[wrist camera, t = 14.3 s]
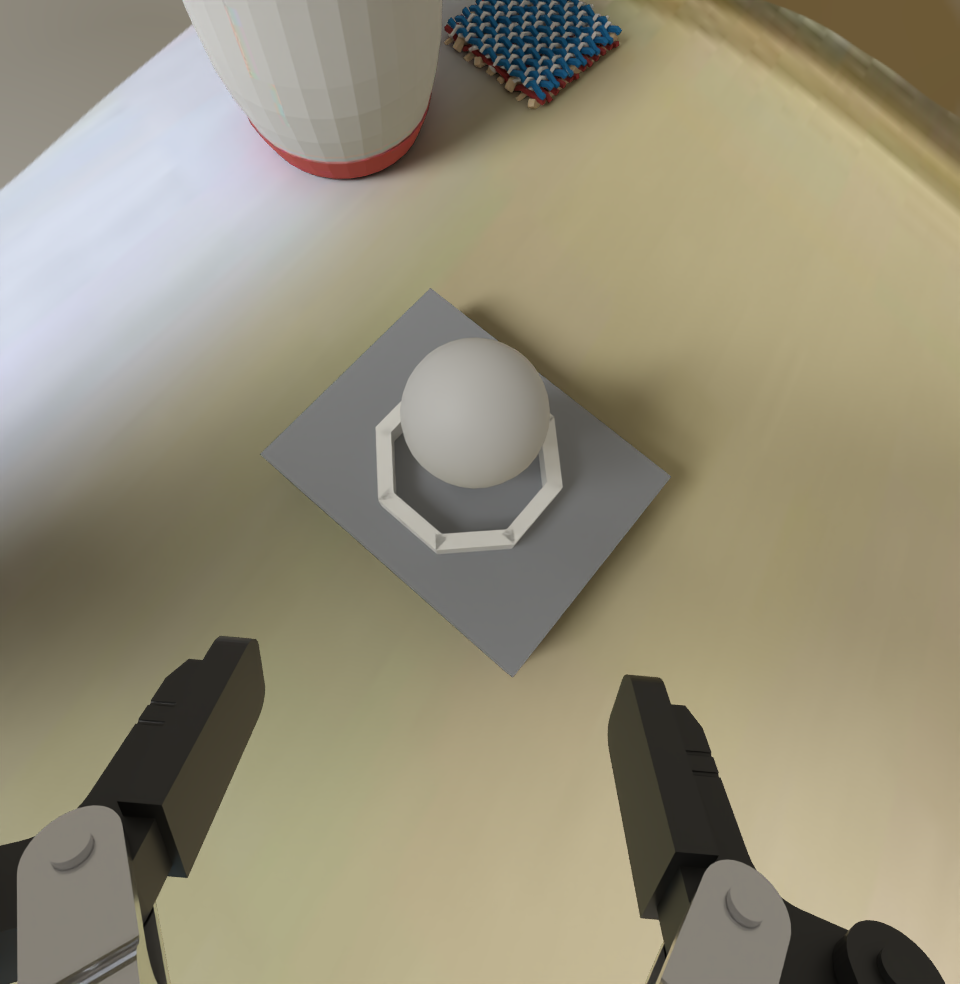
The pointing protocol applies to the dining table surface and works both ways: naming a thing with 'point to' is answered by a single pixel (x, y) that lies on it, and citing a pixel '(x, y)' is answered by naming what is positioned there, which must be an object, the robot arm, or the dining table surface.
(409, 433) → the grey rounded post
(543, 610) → the grey ring holder base
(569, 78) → the woven mat
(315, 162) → the citrus juicer
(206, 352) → the dining table surface
